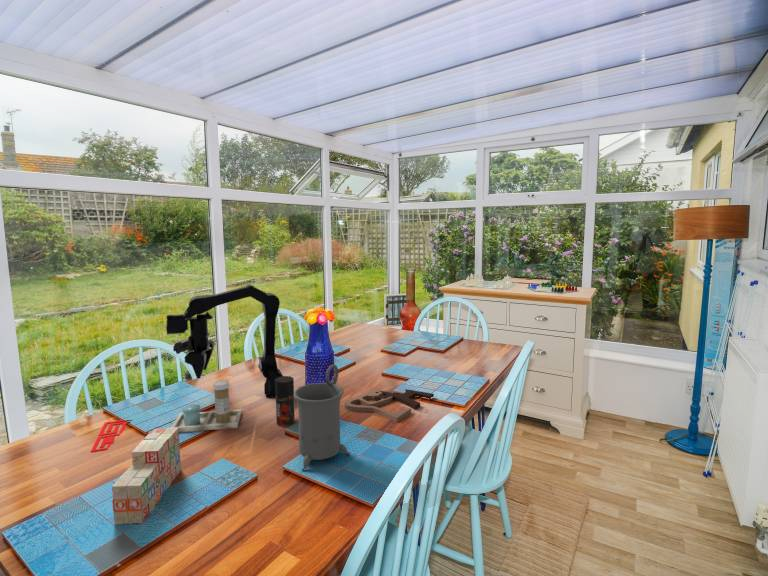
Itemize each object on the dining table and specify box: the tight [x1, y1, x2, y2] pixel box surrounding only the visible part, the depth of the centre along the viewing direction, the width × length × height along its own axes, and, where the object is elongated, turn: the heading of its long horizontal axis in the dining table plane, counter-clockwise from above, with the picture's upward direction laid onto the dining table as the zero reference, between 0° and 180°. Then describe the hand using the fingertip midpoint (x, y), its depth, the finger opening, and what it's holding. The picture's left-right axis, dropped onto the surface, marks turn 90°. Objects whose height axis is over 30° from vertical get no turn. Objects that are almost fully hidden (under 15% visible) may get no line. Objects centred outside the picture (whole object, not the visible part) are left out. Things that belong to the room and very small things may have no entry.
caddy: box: [170, 408, 243, 433], centre depth 141 cm, size 20×11×2 cm, turn 101°
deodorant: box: [275, 375, 296, 427], centre depth 142 cm, size 6×6×15 cm
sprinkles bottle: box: [213, 379, 231, 423], centre depth 141 cm, size 5×5×13 cm
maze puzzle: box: [90, 419, 128, 453], centre depth 137 cm, size 20×20×1 cm
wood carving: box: [342, 388, 435, 423], centre depth 160 cm, size 28×2×24 cm
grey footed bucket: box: [294, 364, 351, 471], centre depth 121 cm, size 19×15×25 cm
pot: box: [181, 403, 201, 426], centre depth 139 cm, size 5×5×6 cm
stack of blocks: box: [111, 427, 182, 525], centre depth 104 cm, size 21×6×12 cm, turn 4°
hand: (201, 373), depth 155 cm, fingers open, 9 cm apart
